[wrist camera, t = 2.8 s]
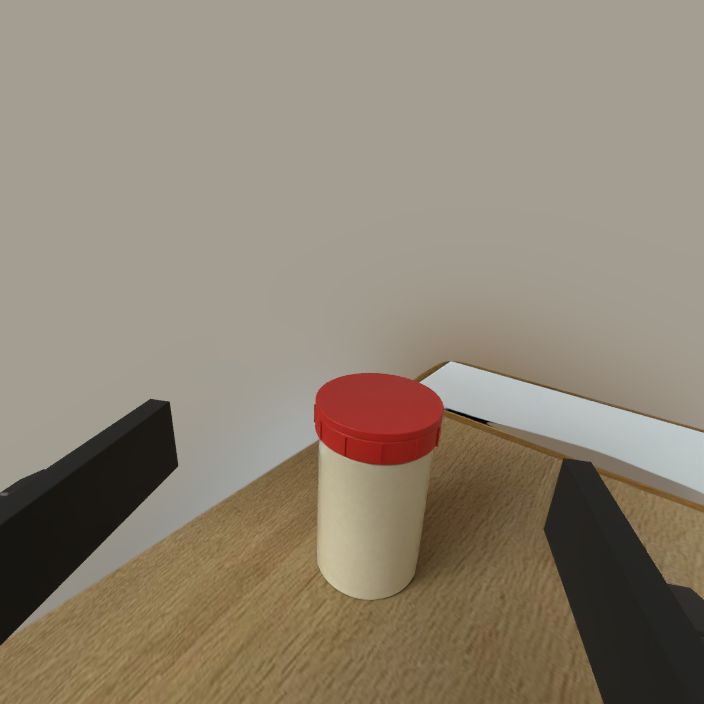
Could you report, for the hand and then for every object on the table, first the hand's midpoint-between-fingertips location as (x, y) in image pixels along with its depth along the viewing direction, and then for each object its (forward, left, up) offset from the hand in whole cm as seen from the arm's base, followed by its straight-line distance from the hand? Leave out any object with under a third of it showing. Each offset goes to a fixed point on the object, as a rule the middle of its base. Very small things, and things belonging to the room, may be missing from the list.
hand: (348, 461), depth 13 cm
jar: (+4, +9, -15) cm, 18 cm away
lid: (+4, +9, -3) cm, 10 cm away
